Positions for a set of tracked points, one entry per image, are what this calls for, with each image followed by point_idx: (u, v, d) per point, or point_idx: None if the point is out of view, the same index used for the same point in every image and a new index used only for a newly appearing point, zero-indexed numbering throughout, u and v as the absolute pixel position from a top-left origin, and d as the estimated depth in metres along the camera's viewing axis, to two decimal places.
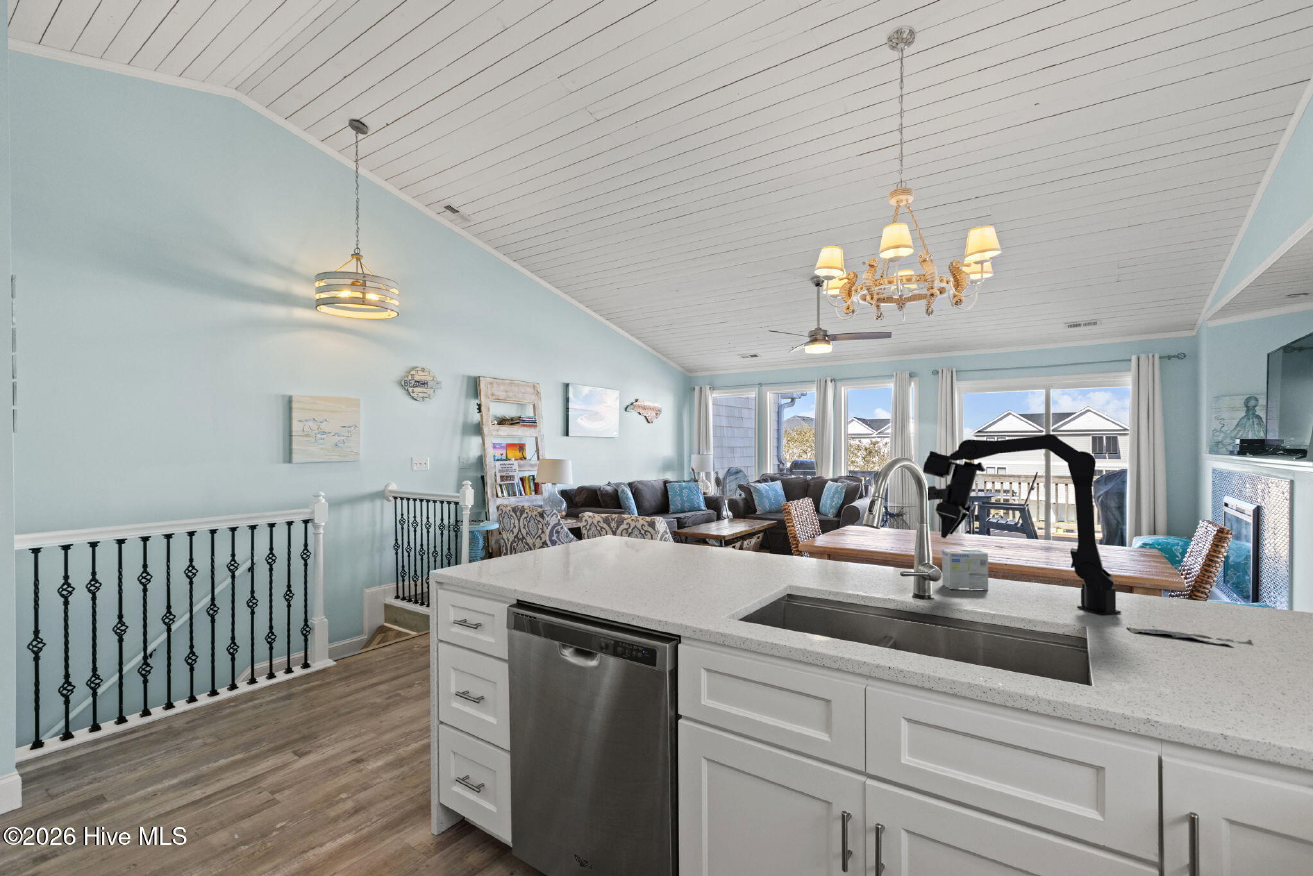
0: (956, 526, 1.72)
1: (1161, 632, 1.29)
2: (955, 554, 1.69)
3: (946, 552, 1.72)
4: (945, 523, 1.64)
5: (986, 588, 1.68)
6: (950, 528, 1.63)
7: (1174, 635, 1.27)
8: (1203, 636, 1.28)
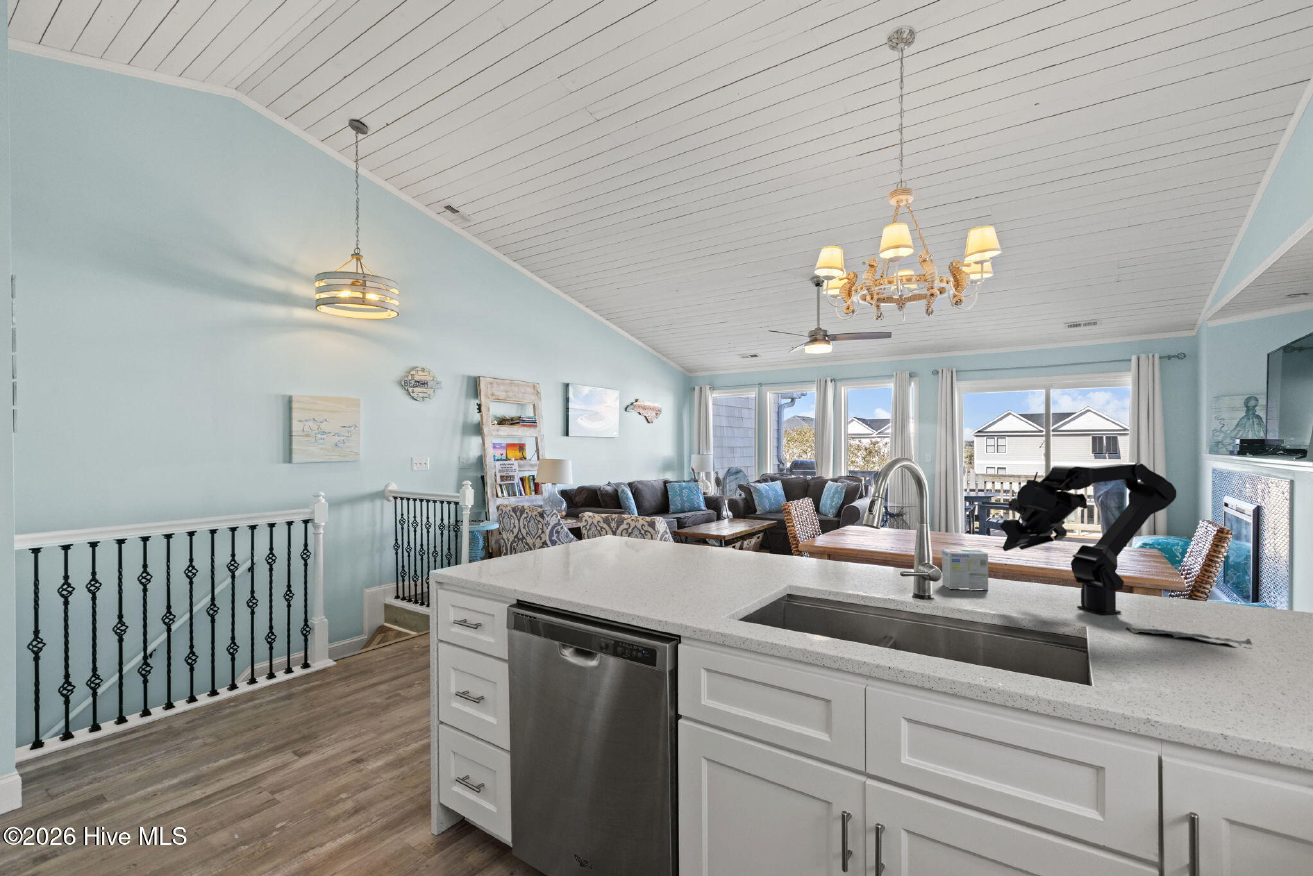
0: (1029, 545, 1.58)
1: (1161, 632, 1.28)
2: (955, 554, 1.69)
3: (946, 552, 1.72)
4: (1010, 539, 1.54)
5: (986, 588, 1.68)
6: (1012, 546, 1.54)
7: (1175, 635, 1.27)
8: (1202, 635, 1.28)
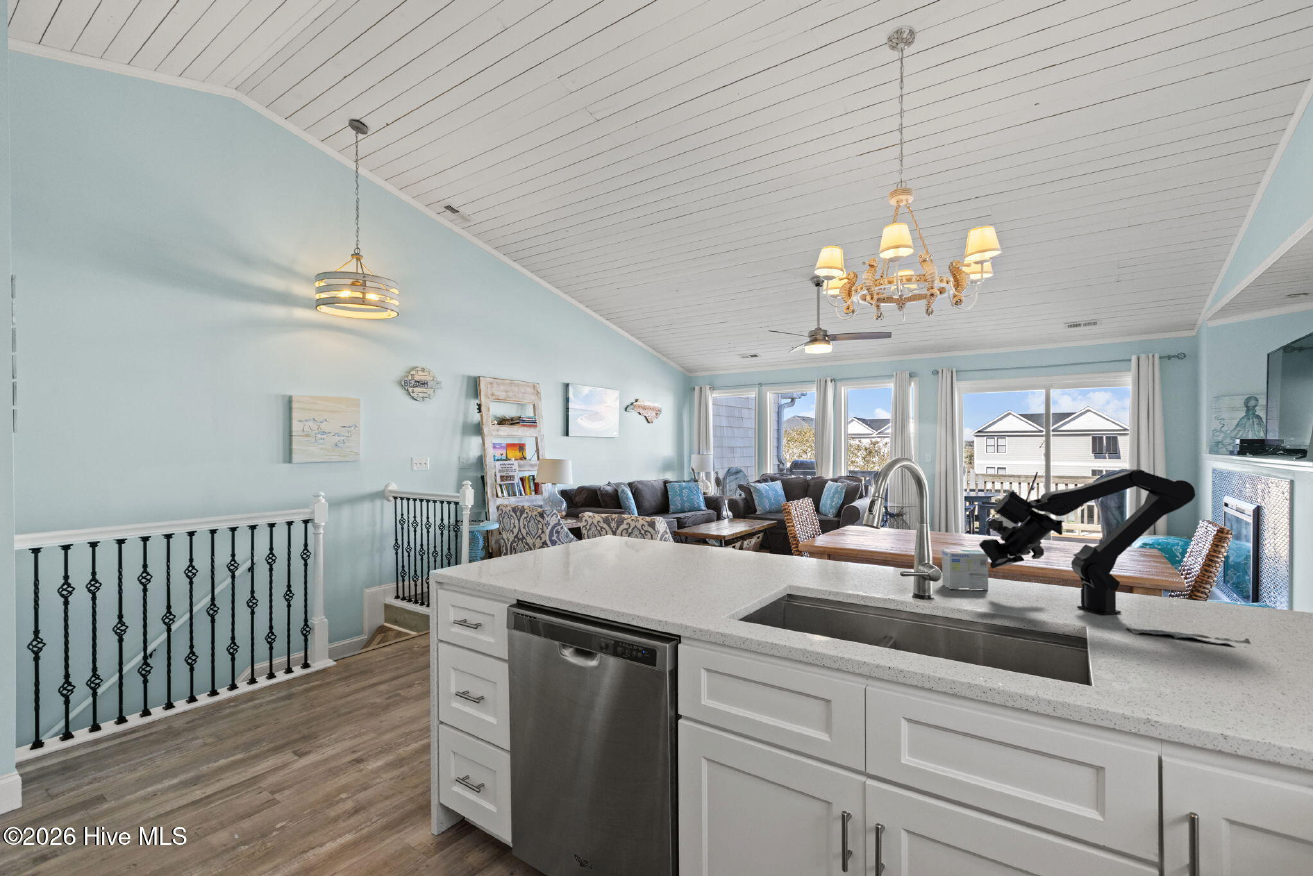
0: None
1: (1162, 632, 1.28)
2: (955, 554, 1.69)
3: (946, 552, 1.72)
4: None
5: (986, 588, 1.68)
6: (999, 564, 1.60)
7: (1175, 635, 1.27)
8: (1202, 636, 1.28)
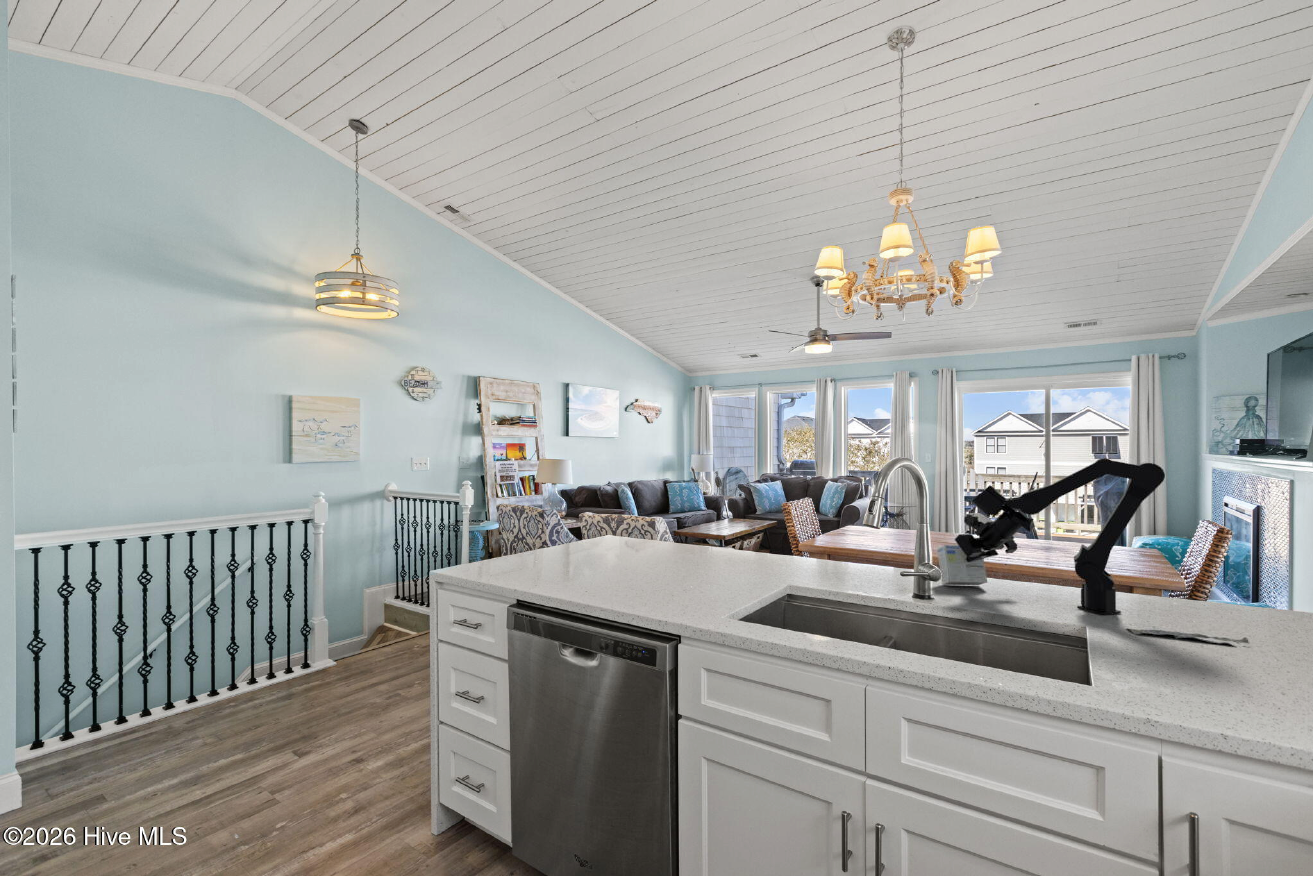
0: (976, 558, 1.69)
1: (1163, 633, 1.28)
2: (949, 546, 1.73)
3: (941, 547, 1.76)
4: None
5: (985, 579, 1.69)
6: (974, 558, 1.67)
7: (1176, 635, 1.27)
8: (1201, 635, 1.28)
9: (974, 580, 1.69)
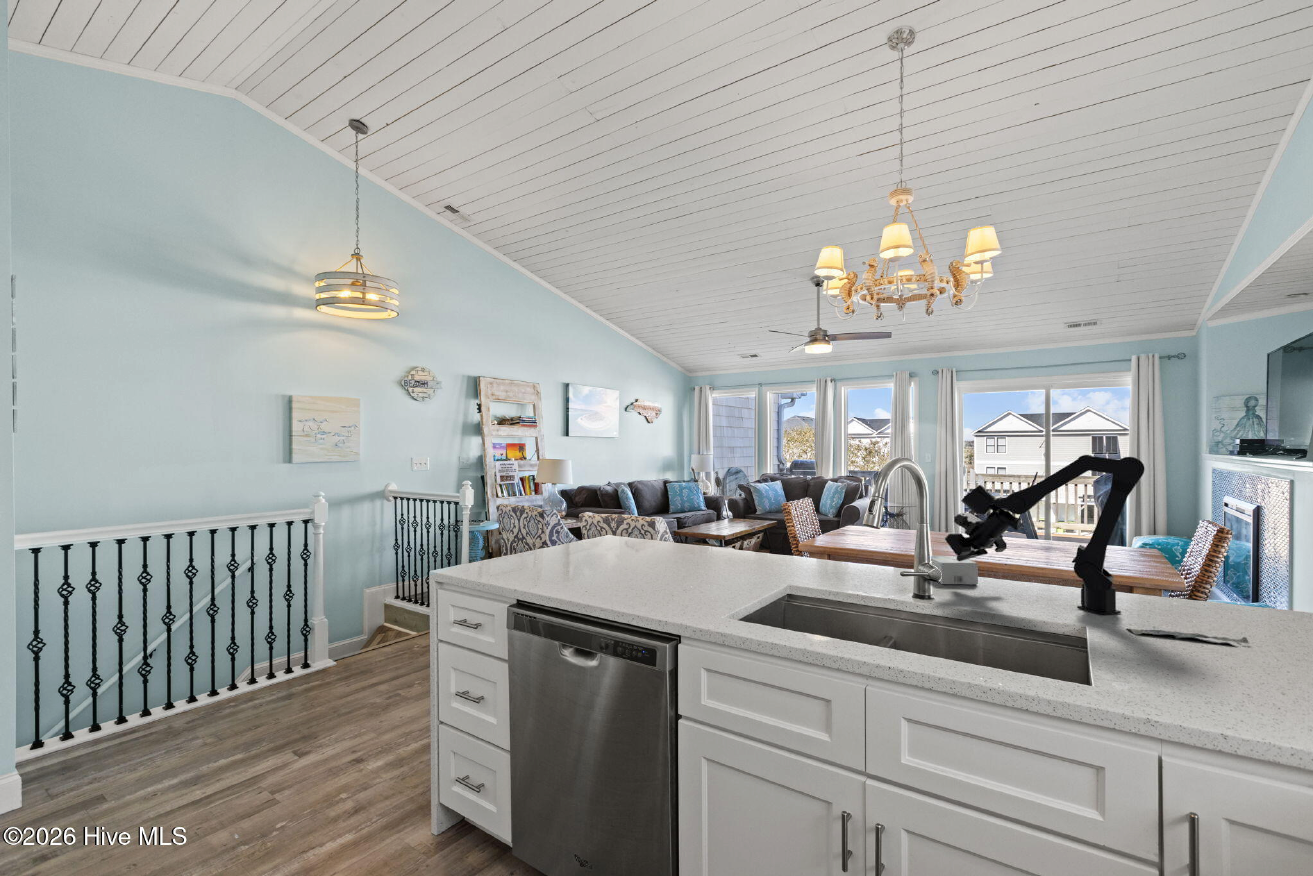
0: (966, 557, 1.72)
1: (1163, 633, 1.28)
2: (933, 556, 1.86)
3: None
4: None
5: (974, 562, 1.76)
6: (964, 557, 1.70)
7: (1176, 635, 1.27)
8: (1200, 635, 1.28)
9: (964, 562, 1.76)
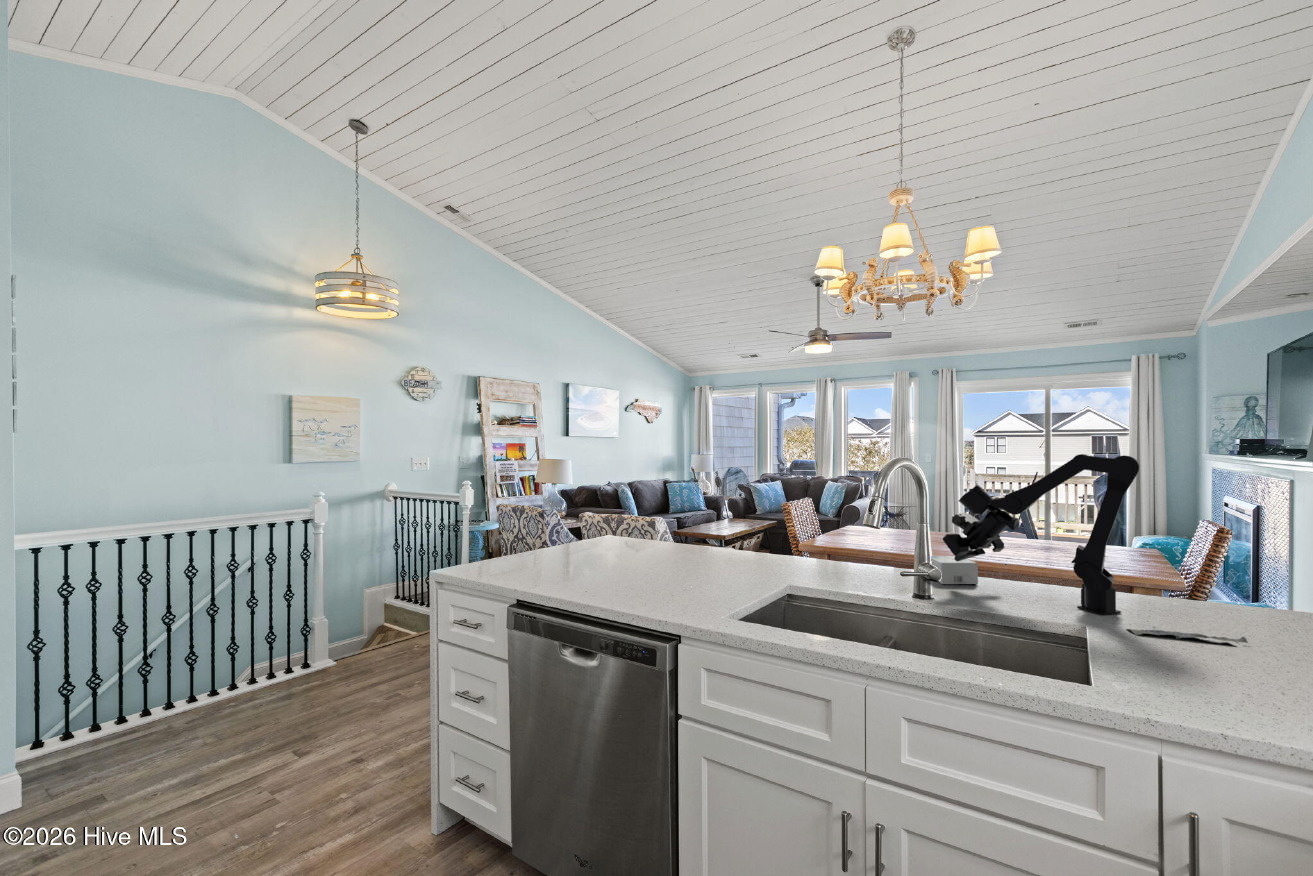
0: (964, 557, 1.72)
1: (1164, 633, 1.28)
2: (933, 556, 1.86)
3: None
4: None
5: (974, 562, 1.76)
6: (962, 557, 1.71)
7: (1177, 635, 1.27)
8: (1200, 635, 1.28)
9: (964, 562, 1.76)
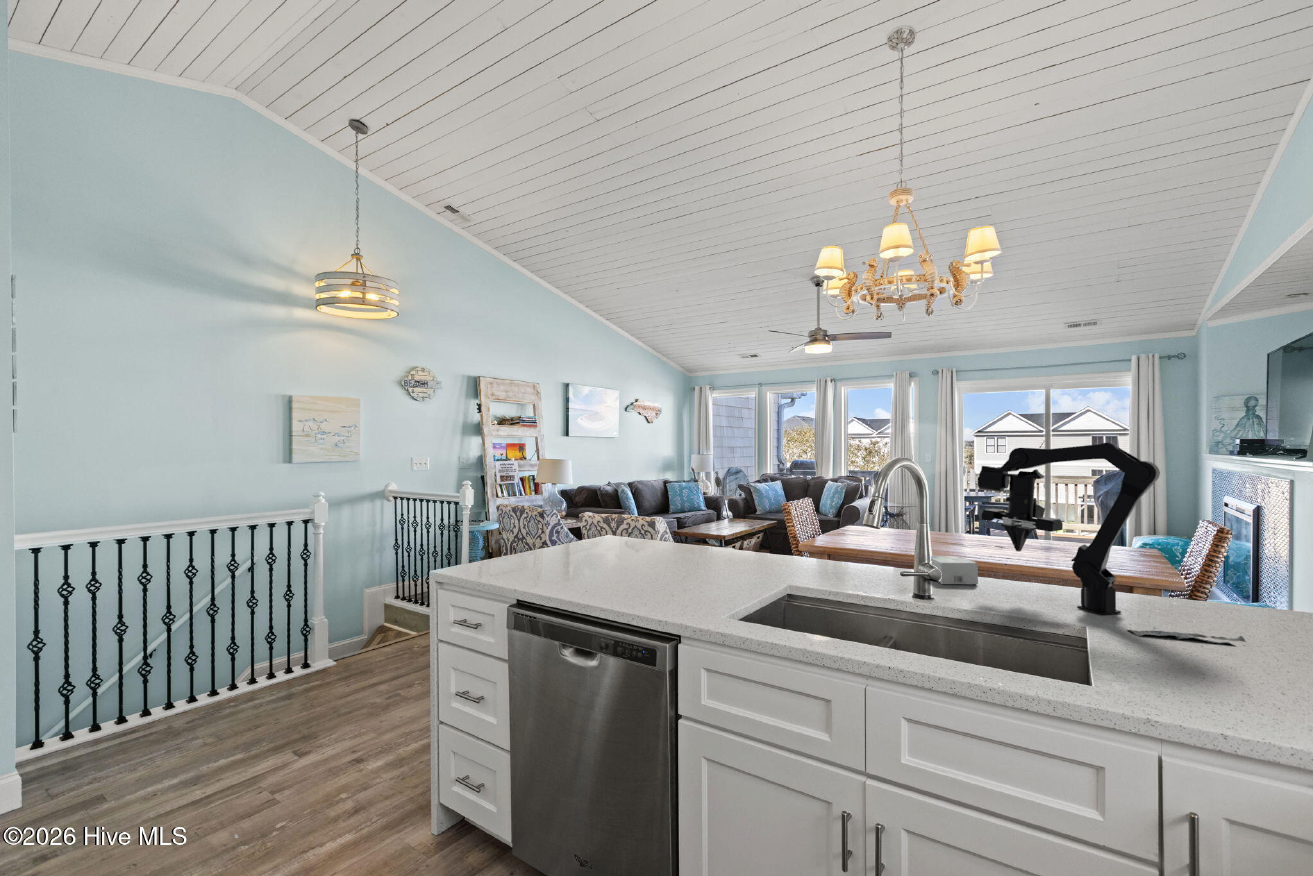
0: None
1: (1165, 633, 1.27)
2: (933, 556, 1.86)
3: None
4: None
5: (974, 562, 1.76)
6: None
7: (1178, 636, 1.26)
8: (1199, 635, 1.28)
9: (964, 562, 1.76)
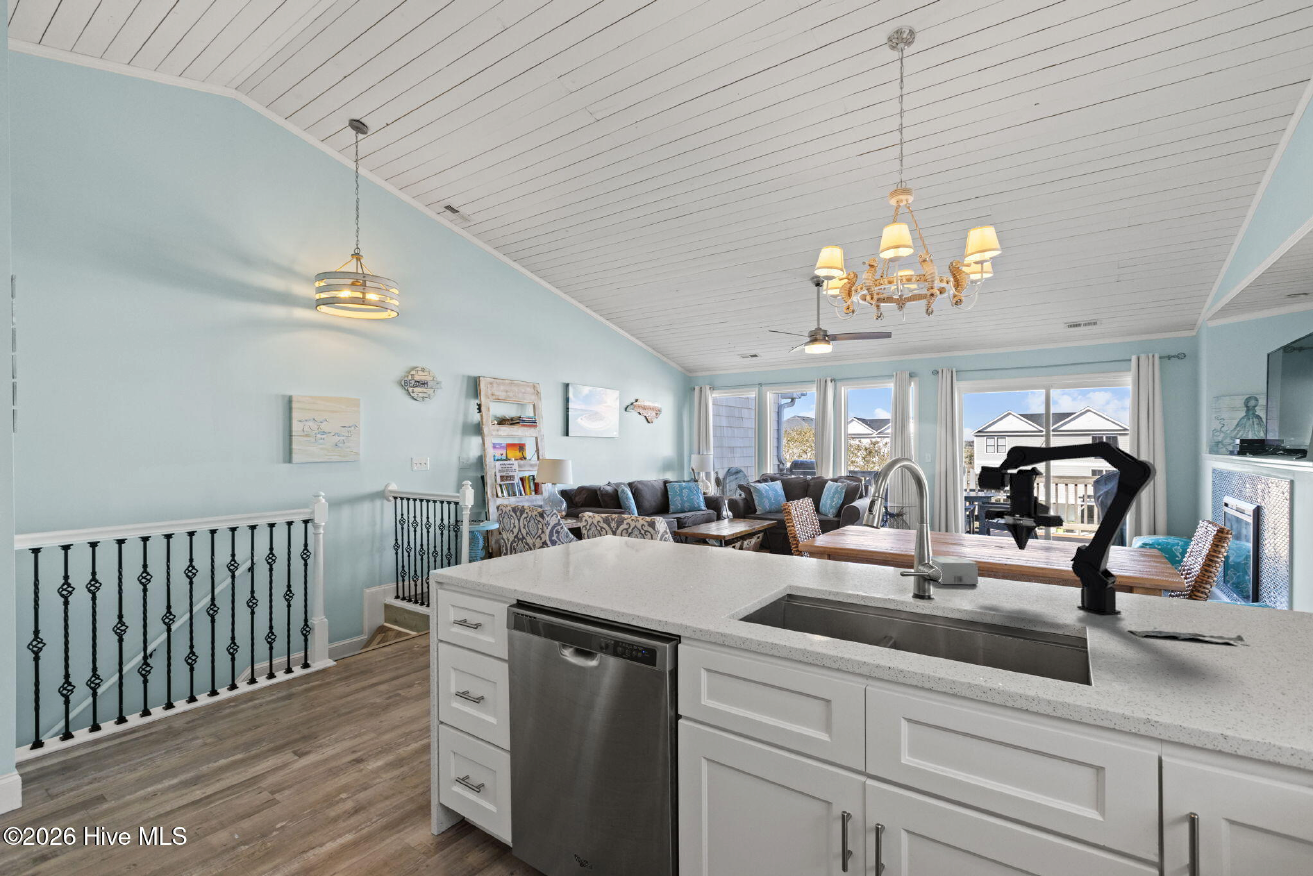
0: None
1: (1165, 634, 1.27)
2: (933, 556, 1.86)
3: None
4: None
5: (974, 562, 1.76)
6: None
7: (1178, 636, 1.26)
8: (1198, 634, 1.28)
9: (964, 562, 1.76)
